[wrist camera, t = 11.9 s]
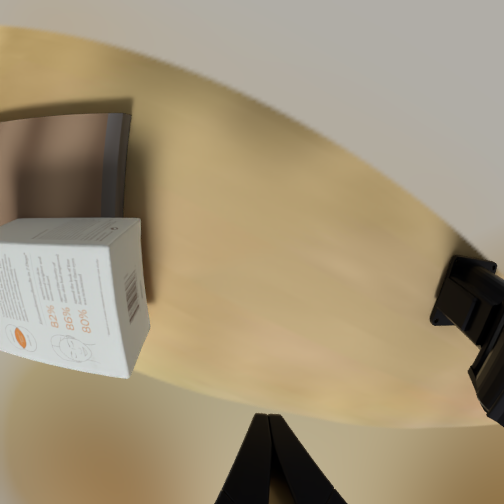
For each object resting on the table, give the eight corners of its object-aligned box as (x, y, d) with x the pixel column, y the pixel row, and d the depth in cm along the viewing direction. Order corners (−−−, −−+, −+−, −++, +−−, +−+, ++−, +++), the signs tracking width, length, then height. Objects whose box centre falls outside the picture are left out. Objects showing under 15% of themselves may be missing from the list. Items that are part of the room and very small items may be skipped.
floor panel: (131, 115, 17) (123, 113, 15) (123, 288, 20) (116, 297, 19) (-10, 125, 15) (-21, 126, 14) (-6, 263, 19) (-15, 270, 18)
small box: (144, 216, 17) (16, 215, 17) (108, 245, 12) (-34, 238, 11) (151, 329, 20) (34, 312, 19) (130, 383, 15) (-2, 351, 14)
